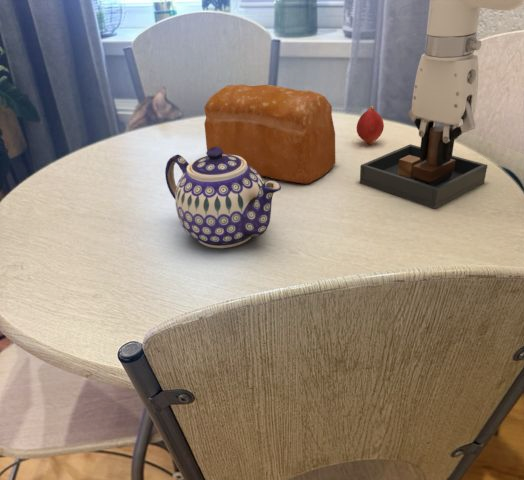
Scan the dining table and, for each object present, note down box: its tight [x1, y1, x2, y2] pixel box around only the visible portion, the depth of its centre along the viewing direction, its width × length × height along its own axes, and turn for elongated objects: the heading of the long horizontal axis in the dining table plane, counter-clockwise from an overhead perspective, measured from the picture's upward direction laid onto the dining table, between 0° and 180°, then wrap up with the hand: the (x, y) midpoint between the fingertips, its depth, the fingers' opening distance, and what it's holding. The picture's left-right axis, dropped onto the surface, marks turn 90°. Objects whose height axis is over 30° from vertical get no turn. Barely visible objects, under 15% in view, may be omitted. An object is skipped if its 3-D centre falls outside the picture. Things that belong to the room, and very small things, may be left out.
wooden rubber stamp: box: [412, 125, 455, 186], centre depth 96 cm, size 7×4×9 cm, turn 129°
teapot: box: [164, 147, 282, 249], centre depth 86 cm, size 25×15×15 cm, turn 48°
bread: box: [204, 83, 336, 184], centre depth 109 cm, size 14×26×16 cm, turn 55°
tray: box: [359, 143, 488, 210], centre depth 100 cm, size 18×15×4 cm
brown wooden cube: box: [398, 155, 422, 178], centre depth 101 cm, size 3×3×3 cm
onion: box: [356, 105, 385, 145], centre depth 117 cm, size 6×6×8 cm
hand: (435, 159), depth 96 cm, fingers closed on wooden rubber stamp, 3 cm apart
